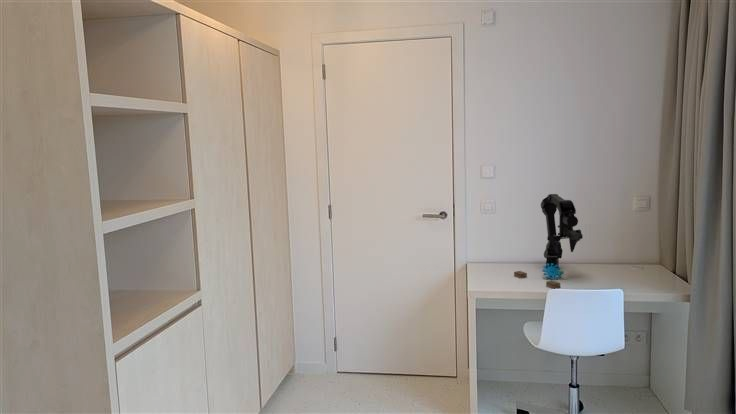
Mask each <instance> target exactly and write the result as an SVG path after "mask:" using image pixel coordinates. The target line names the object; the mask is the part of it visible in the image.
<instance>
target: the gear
mask: <svg viewBox="0 0 736 414" xmlns="http://www.w3.org/2000/svg"><path fill="white" fill-rule="evenodd" d="M553 265H554V264H553V263H551V266H550V267H549V264H547V266H548V268H546V265H544V266H543V269H542V272H543V276H546V279H549V278H550V281H554V280H555V281H556V280H557V281H558V280H559V278H561V277H562V275H563V274H565V271H564V270H562V268H561V266H559V268H555V267H558V265H557V264H556V265H555V266H554V267H552V266H553ZM561 270H562V271H561Z"/></svg>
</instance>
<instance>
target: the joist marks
mask: <svg viewBox="0 0 736 414" xmlns="http://www.w3.org/2000/svg"><path fill="white" fill-rule="evenodd" d="M513 277H516V278H518V279H526V278H528V273H527V272H525V271H522V270H516V271H513ZM545 284H546V287H547V288H551V289H553V288H557V289H560V288H561V282H558V281H556V280H547V281H546V283H545Z"/></svg>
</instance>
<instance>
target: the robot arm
mask: <svg viewBox="0 0 736 414" xmlns="http://www.w3.org/2000/svg"><path fill="white" fill-rule="evenodd" d="M540 208H541V212H542V213H543V215H544V216H545V221H546V230H547V243H546V245H545V250H544V252H543V257H544V258H545V259H546V261H545V266H546V268H548V266H547V264H549V267H550V266H551V263H553V264H554V265H553V266H552V267H554V266H555V265H556V264H557V265H558V267H555V268H559V267H560V266H559V261H560V259H562V257H563V253H564V252H563V248H562V244H561V242H562V241H561V240H565V239H568V241H569V248H570V252H571V253H574V250H575V248H576V245H577V243H578V242H579V241H581V240H582V239H583V236H584V235H583V234H582V230H581V229H574V227H576V226H578V223H579V219H578V218H577V217H576V216H575V215H576V213H577V210H576V207H575V205H574V202H573V201H572V200H571V199H564V198H562V197H561V196H559V194H558V193H549V194H547V196H546V197H545V198H543V199H542V201H541V202H540ZM557 211H558V215H559V218H558V219H559V221H558V223H559V225H557V228H558V229H559V231H558V232H557V228H556V220H555V219H556V218H555V215H556V212H557Z"/></svg>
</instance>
